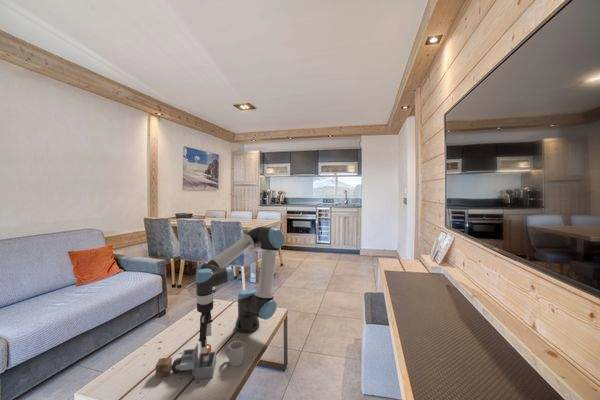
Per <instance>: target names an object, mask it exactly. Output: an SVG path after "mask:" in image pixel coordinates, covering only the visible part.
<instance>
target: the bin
mask: <svg viewBox="0 0 600 400" xmlns="http://www.w3.org/2000/svg"><path fill="white" fill-rule="evenodd" d="M216 364H217V351H211V354H209V367H203V356H201V352H200V353H198V360H197V363H196V366H195V375H194V381H195V380H197V381H198V380H203V379H204V380H205V379H213V378H214V373H215V368H216Z"/></svg>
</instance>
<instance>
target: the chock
mask: <svg viewBox="0 0 600 400" xmlns="http://www.w3.org/2000/svg"><path fill="white" fill-rule="evenodd" d="M172 360H173V358H172V357H162V358H159V359H157V362H156V363H155V364H156V365H155V378H156V379H157V378H158V379H159V378H160V379H161V378H167V377H169V376H170V374H171V372H172V368H171V367H172V364H173V362H172Z"/></svg>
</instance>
